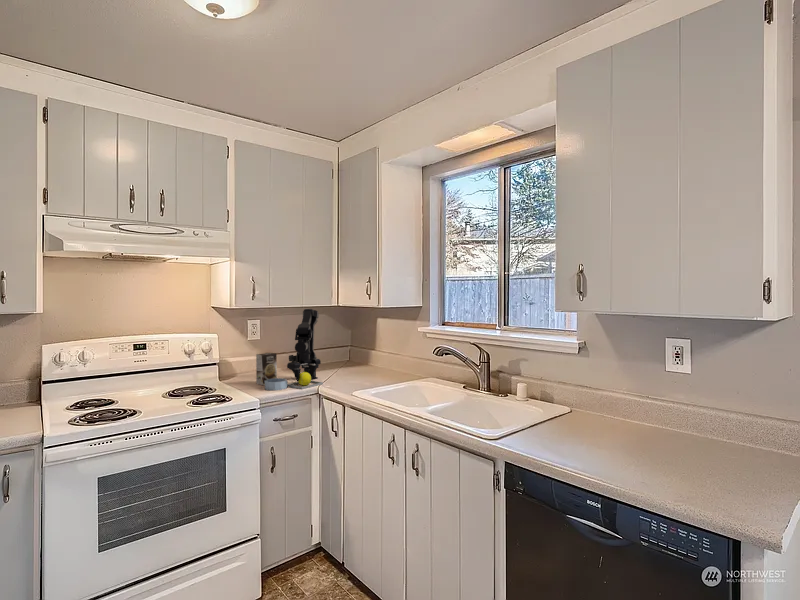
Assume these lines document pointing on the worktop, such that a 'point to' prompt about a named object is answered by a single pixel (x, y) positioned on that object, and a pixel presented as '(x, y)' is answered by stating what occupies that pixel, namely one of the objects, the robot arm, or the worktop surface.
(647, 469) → the worktop surface
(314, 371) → the robot arm
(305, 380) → the tennis ball
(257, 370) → the coffee box
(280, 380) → the bowl
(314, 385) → the grey square frame
